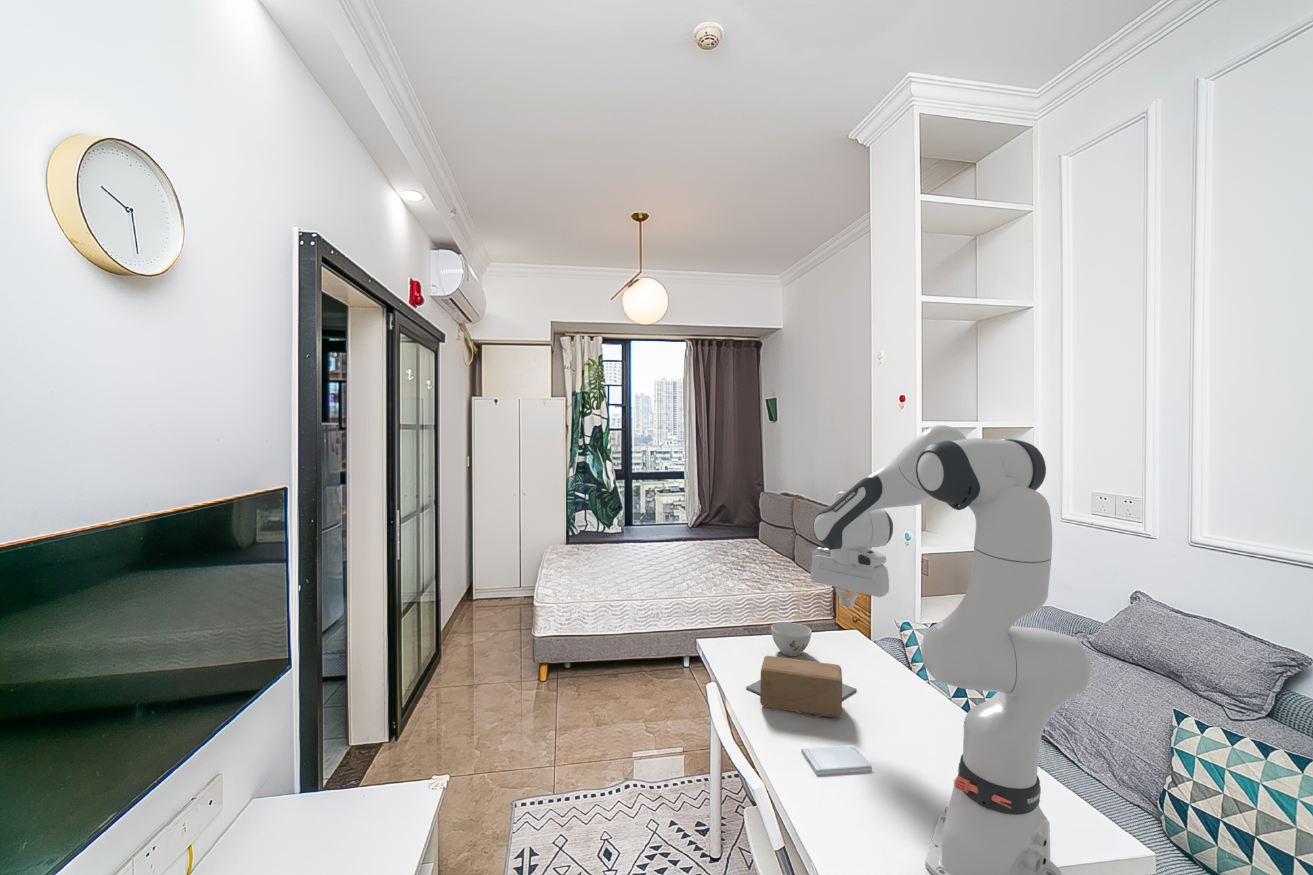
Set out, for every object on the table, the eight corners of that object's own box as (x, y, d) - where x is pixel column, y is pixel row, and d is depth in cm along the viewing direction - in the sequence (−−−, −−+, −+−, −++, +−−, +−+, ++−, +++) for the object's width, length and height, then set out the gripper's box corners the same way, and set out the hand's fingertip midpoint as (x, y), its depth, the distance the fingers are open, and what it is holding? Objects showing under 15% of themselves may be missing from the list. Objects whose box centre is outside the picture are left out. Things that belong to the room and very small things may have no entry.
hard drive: (853, 744, 128) (801, 747, 126) (872, 765, 120) (816, 769, 118) (853, 751, 128) (801, 754, 126) (871, 773, 120) (816, 777, 118)
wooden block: (842, 680, 139) (760, 669, 144) (841, 720, 139) (759, 707, 145) (841, 663, 148) (764, 653, 154) (840, 701, 148) (763, 689, 154)
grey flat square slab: (813, 718, 140) (813, 716, 140) (746, 688, 156) (746, 686, 156) (856, 690, 155) (856, 688, 155) (791, 665, 171) (791, 664, 171)
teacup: (816, 661, 174) (816, 635, 174) (776, 661, 174) (776, 635, 174) (802, 641, 189) (802, 618, 189) (765, 641, 189) (765, 618, 189)
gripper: (806, 547, 150) (805, 599, 151) (881, 561, 135) (879, 618, 136) (818, 544, 155) (817, 594, 155) (892, 557, 140) (891, 613, 140)
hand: (847, 606), depth 145 cm, fingers closed
